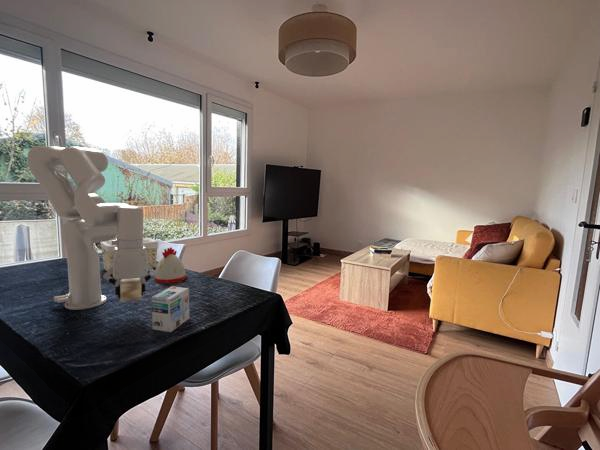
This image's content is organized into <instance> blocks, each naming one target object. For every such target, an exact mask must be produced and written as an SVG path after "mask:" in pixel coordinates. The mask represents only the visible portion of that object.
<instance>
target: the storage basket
mask: <svg viewBox="0 0 600 450" xmlns="http://www.w3.org/2000/svg"><path fill="white" fill-rule="evenodd" d="M114 240H115V239H112V240H110V241H105V242H100V246H99V247H101V248H100V249H101V253H102V261H103V262H102V263H103V269H104V270H105V271H106V272H107V271H108V270H109V269H110V268H111V267H112V266H113V253H114V249H115V247H117V246H116V245H112V241H114ZM143 246H145V247H146V251H147V260H148V265H149V266H150V267H152V268H153V269H154V268H156V264H157V259H158V258H157V257H158V248H159V241H158V240H155V239H153V238H151V237H143ZM111 275H113V273H112V274H111Z"/></svg>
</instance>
